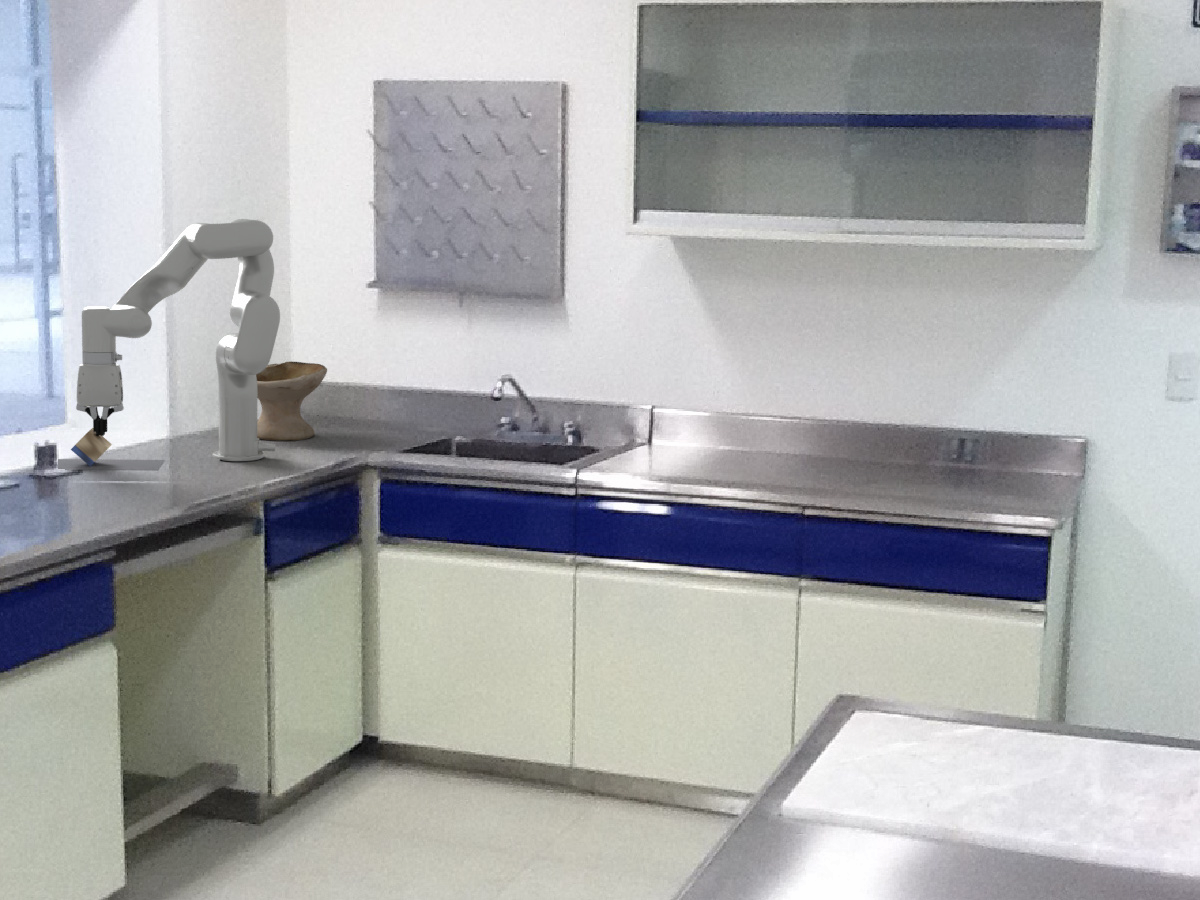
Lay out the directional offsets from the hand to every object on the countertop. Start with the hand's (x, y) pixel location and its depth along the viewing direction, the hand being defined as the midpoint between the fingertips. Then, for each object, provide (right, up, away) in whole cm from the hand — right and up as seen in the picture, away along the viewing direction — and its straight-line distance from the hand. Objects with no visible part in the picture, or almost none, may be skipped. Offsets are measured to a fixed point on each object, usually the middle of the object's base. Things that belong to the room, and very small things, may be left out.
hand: (100, 434), depth 332 cm
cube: (0, -1, 0) cm, 1 cm away
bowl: (+30, 0, +57) cm, 65 cm away
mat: (+1, -8, +1) cm, 8 cm away
